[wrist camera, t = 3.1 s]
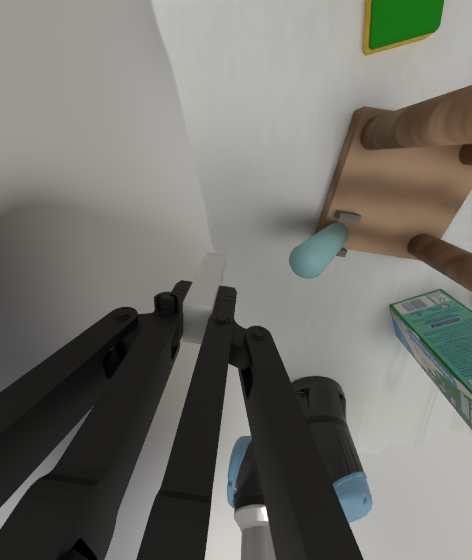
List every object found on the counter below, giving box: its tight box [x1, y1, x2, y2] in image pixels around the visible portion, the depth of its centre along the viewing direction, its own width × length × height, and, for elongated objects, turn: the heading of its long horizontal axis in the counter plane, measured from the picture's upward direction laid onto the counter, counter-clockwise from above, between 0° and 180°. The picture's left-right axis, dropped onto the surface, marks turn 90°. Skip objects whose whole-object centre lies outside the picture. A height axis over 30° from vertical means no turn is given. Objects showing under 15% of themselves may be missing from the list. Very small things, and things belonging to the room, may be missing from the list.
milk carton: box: [390, 290, 472, 430], centre depth 33 cm, size 9×9×25 cm
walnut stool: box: [315, 85, 472, 291], centre depth 26 cm, size 19×18×19 cm
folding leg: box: [289, 223, 349, 278], centre depth 27 cm, size 4×4×14 cm
